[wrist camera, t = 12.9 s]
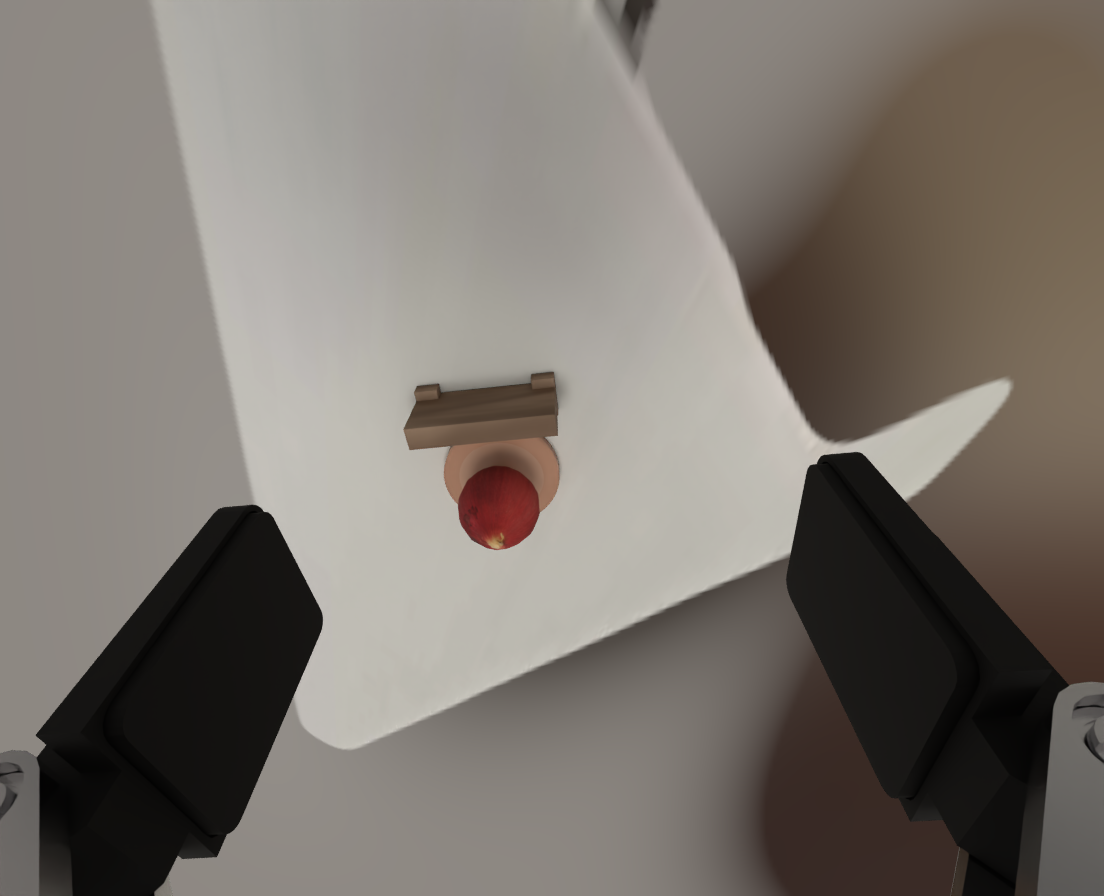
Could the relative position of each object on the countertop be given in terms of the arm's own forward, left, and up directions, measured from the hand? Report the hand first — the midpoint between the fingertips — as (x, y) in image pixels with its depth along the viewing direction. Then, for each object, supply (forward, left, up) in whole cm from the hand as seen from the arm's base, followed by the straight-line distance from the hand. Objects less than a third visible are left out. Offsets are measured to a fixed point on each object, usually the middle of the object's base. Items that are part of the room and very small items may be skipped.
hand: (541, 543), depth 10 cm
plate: (+17, -6, -28) cm, 33 cm away
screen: (+11, -6, -28) cm, 31 cm away
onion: (+17, -6, -27) cm, 32 cm away
